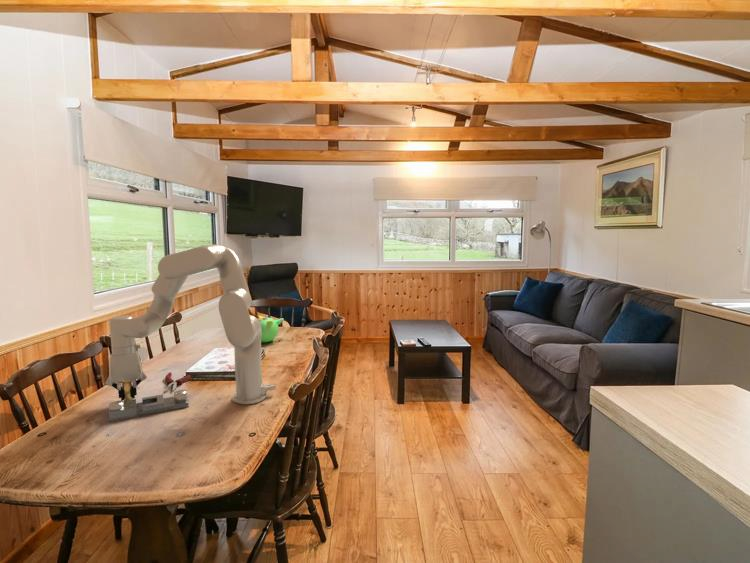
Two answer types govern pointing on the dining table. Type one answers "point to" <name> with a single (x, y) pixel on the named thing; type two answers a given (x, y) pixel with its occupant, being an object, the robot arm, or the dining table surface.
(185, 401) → the grey notched rail
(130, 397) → the brass pin
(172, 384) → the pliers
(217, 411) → the dining table surface
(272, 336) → the green teapot
